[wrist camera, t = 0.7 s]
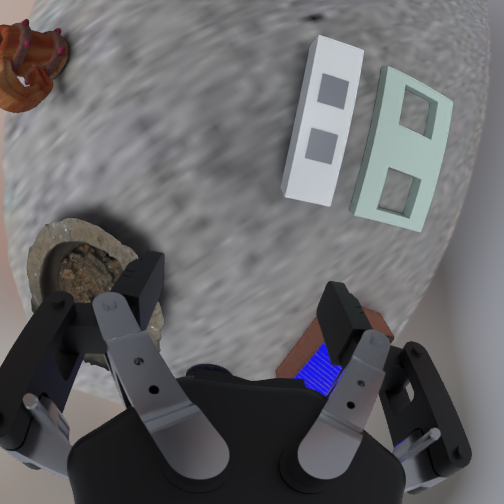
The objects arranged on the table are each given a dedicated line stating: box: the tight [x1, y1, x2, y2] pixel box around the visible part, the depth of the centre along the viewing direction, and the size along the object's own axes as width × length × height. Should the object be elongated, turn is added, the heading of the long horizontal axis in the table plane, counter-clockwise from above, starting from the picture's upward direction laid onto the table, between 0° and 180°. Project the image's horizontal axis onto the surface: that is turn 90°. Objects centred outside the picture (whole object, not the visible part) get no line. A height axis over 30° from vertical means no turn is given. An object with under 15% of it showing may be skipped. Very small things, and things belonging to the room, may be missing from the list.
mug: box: [0, 19, 69, 113], centre depth 17 cm, size 15×8×15 cm, turn 21°
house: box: [276, 307, 394, 395], centre depth 41 cm, size 12×20×12 cm, turn 156°
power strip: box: [280, 35, 364, 207], centre depth 27 cm, size 18×5×7 cm, turn 169°
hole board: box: [349, 66, 453, 232], centre depth 31 cm, size 21×12×2 cm, turn 169°
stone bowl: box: [27, 218, 164, 371], centre depth 36 cm, size 25×25×9 cm
